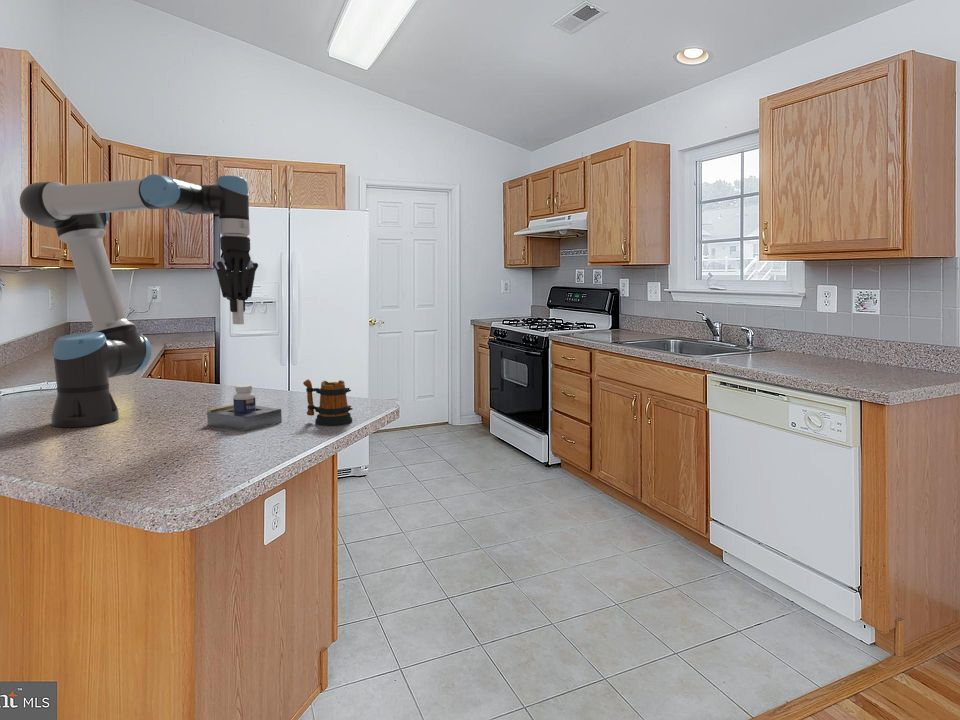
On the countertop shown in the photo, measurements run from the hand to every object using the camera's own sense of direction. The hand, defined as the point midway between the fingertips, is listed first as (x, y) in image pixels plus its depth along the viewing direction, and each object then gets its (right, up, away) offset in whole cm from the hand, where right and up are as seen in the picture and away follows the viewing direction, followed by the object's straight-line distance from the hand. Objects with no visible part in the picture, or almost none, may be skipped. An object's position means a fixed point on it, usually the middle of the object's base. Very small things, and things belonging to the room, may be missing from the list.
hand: (238, 324), depth 168 cm
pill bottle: (+4, -26, -6) cm, 27 cm away
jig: (+4, -27, -6) cm, 27 cm away
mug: (+26, -27, -4) cm, 37 cm away
